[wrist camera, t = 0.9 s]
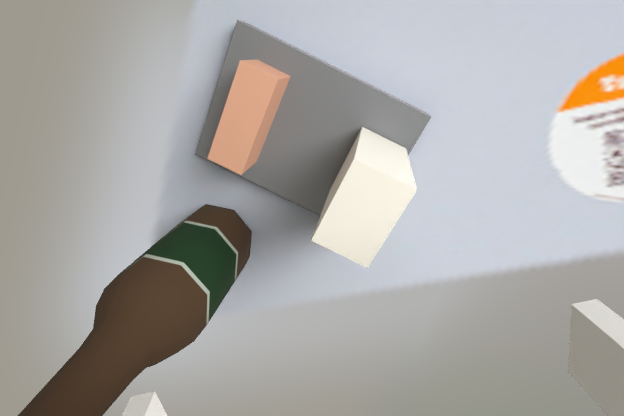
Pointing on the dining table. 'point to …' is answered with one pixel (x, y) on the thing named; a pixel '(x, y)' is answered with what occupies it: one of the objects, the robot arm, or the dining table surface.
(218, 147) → the peach rectangular block
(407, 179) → the cream tall block
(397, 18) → the dining table surface
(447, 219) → the dining table surface
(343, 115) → the base
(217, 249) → the beer bottle
